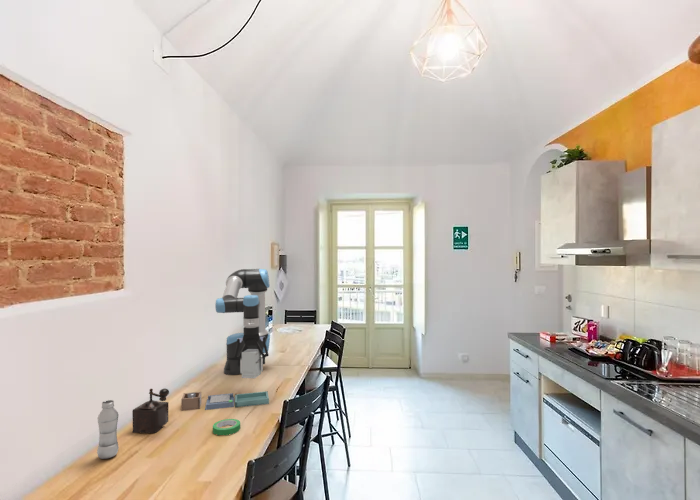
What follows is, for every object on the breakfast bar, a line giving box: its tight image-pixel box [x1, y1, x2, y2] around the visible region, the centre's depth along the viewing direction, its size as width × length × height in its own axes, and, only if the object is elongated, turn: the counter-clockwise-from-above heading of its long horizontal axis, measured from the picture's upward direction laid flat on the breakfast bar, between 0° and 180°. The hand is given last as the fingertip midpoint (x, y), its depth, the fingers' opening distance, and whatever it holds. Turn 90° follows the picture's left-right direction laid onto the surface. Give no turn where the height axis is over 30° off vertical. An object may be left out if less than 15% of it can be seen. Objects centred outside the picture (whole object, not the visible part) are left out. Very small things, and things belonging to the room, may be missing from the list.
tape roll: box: [212, 418, 241, 436], centre depth 165 cm, size 11×11×3 cm
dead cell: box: [187, 392, 196, 398], centre depth 189 cm, size 4×4×6 cm
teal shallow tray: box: [234, 390, 270, 409], centre depth 196 cm, size 11×16×2 cm
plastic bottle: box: [96, 399, 119, 460], centre depth 144 cm, size 6×7×20 cm
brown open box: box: [180, 391, 202, 411], centre depth 189 cm, size 8×8×6 cm
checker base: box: [204, 392, 235, 411], centre depth 192 cm, size 13×13×4 cm
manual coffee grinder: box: [131, 388, 170, 434], centre depth 167 cm, size 16×11×18 cm
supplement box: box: [241, 349, 262, 379], centre depth 196 cm, size 7×7×13 cm
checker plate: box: [210, 393, 230, 404], centre depth 192 cm, size 9×9×1 cm
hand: (251, 371), depth 196 cm, fingers closed on supplement box, 9 cm apart
